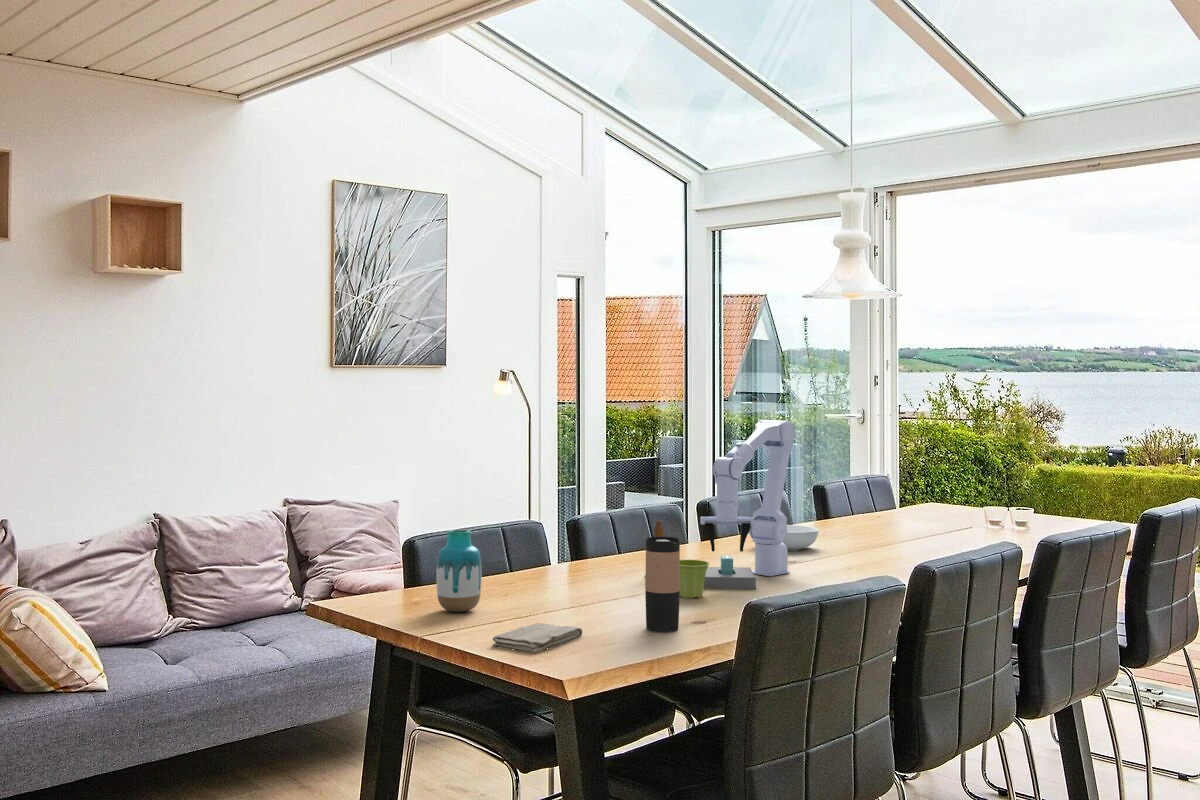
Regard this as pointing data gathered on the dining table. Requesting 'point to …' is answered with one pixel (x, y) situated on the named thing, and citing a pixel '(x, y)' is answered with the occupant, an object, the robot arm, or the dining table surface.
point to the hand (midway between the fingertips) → (727, 550)
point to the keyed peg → (726, 565)
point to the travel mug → (662, 584)
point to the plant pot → (692, 578)
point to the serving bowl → (800, 537)
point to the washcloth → (537, 637)
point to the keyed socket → (730, 578)
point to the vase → (458, 573)
